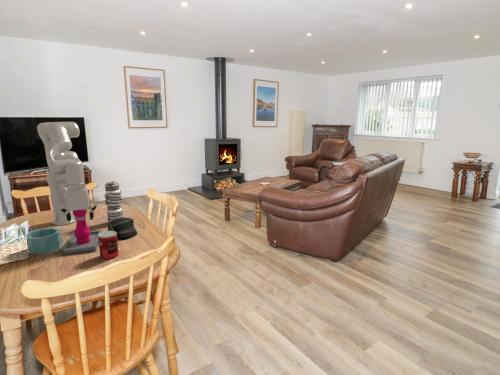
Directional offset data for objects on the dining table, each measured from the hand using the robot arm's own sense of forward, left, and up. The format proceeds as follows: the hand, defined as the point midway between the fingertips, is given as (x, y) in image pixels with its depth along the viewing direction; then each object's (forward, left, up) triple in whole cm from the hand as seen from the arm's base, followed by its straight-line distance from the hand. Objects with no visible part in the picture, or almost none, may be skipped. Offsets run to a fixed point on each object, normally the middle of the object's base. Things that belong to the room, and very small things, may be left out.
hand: (80, 220), depth 151 cm
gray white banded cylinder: (-30, +12, -13) cm, 35 cm away
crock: (0, -17, -13) cm, 21 cm away
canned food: (+18, +14, -13) cm, 26 cm away
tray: (0, 0, -13) cm, 13 cm away
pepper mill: (0, 0, -12) cm, 12 cm away
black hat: (-7, +17, -13) cm, 23 cm away
